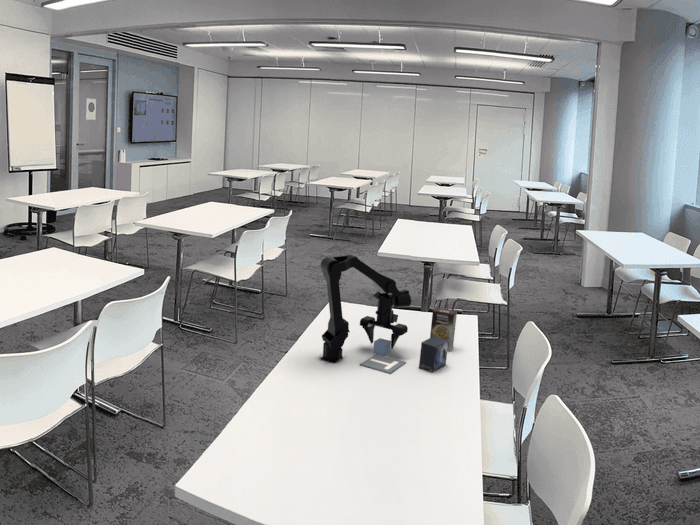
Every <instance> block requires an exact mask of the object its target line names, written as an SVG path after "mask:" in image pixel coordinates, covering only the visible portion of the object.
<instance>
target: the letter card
mask: <svg viewBox="0 0 700 525" xmlns="http://www.w3.org/2000/svg"><path fill="white" fill-rule="evenodd" d="M406 364H407V361H404V360H401V359H400V360H399V359H397V358H392V357H389V356H387V355H385V356H383V355H379V354H374V355H372V356H371V357H369V358H367V359H365V360H363V361H362V362H360V363H359V366H361V367H365V368H367V369H370V370H371V369H372V370H375V371H378V372H382V373H385V374H389V375H391V374H393V373H394V372H395V371H397V370H398V369H401V367H404V365H406Z"/></svg>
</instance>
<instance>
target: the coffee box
mask: <svg viewBox="0 0 700 525" xmlns="http://www.w3.org/2000/svg"><path fill="white" fill-rule="evenodd" d="M457 315H458V310H455V309H449V308H444V307H438V306H436V307H434V309H433V310H432V315H431V316H432V317H431V324H430V325H431V327H430V332H429V333H430V334H429V335H430V336H429V338H431V337H433V336H438V337H441V338H444V339H447V340H449V341H448V349H447V352H451V351H452V349H453V348H454V341H455V332H456V325H457V318H458V316H457Z"/></svg>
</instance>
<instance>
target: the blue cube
mask: <svg viewBox="0 0 700 525" xmlns="http://www.w3.org/2000/svg"><path fill="white" fill-rule="evenodd" d="M372 349H373V352H372V354H374V355H375V354H379V355H383V356H387V355H389V354H391V339H390V340H389V339H386V338H385V339H384V338H381V337H380V338H378V339H375V340H373V348H372Z"/></svg>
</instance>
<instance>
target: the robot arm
mask: <svg viewBox="0 0 700 525" xmlns="http://www.w3.org/2000/svg"><path fill="white" fill-rule="evenodd" d="M320 268H321V271H322V275H323V277H324V279H325V282H326V287H327V297H328V298H327V300H328V306H329V307H328V308H329V315H330V316H329V319H328V322H327V329H326V330H325V331H324V332H323V334H321V338H322V341H323V348H322V349H323V350H322V351H323V352H322V356H321V357H320V360H323V361H327V362H329V363H333V364H336V363H337V362H339V361H341V360H343V359H344V356H343V348H342V347H343V346H344V344H345V341H346V340H347V338H348V337H349V333H350V329H349V326H350V325H349V321H347V320H346V319H345V318H344V317H343V311H342V310H343V308H342V307H343V306H342V301H341V300H342V299H341V290H340V280H341V277H342V273H343V272H346V271H348V270H349V269H351V268H353V269H355V270H356V271H357V272H359V273H361V274H362V275H363V276H365V277H367V278H368V279H369V280H371V282H372V284H374V286H376V287H377V289H379V290H380V291H381V292H380V291H376V293H374V294H373V295H372V297H374V298H375V299H377V310H375V315H376V318H375V317H374V316H369V315H366V316H364V317H363V318H361V319H359V320H360V321H359V326H361V327H362V329H364V331H365V333H366V335H367V338H368V340H369V342H370V344H371V345H372V344H374V336H375V335H374V334H375V333H374V332H375V328H376V327H379V328H383V329H386V330H387V329H388V330H391V331H392V333H391V337H390V341H391V348H390V350H393V349H394V347H395V345H396V343H397V341H398V339H399V337H401V336H403V335H404V334H406V333H408V326H407V324H402V323H399V322H398V318H399V314H395V313H394V310H393V307H394V308H395V309H396V308H407V307H408V308H409V307H410V306H411V304H412V297H411V295H410V290H408V289H401V290H400V289H398V287H397V282H396V280H394V279H393V278H392V277H391V278H390V277H389V276H387V275H384V274H383V273H380V272H378V271H376V270H375V269H374V268H372V267H371V266H369V265H368V264H366V263H365V262H363V261H362V260H360V259H359V258H358V256H355V255H353V254H345V255H339V256H333V257H331V256H327V257H326V256H325V257H324V258H323V259H322V260H321V262H320ZM394 323H395V325H394ZM396 323H397V324H396Z"/></svg>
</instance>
